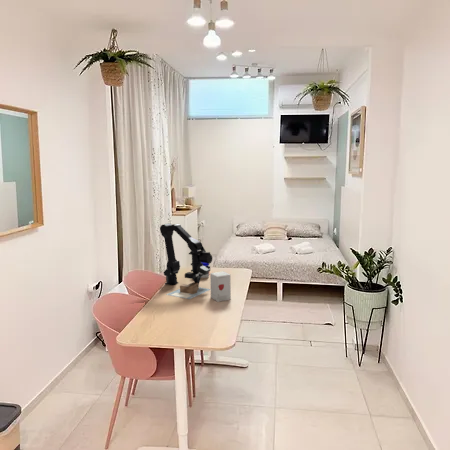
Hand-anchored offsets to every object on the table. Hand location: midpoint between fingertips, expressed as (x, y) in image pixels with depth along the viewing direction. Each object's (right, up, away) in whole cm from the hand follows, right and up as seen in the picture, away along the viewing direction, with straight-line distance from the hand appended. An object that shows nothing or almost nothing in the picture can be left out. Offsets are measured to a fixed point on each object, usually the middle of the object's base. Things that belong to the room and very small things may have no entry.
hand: (197, 285), depth 272 cm
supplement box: (+15, -5, -21) cm, 26 cm away
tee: (-3, -2, -5) cm, 7 cm away
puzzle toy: (+1, +3, +30) cm, 30 cm away
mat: (-5, -3, -7) cm, 9 cm away
